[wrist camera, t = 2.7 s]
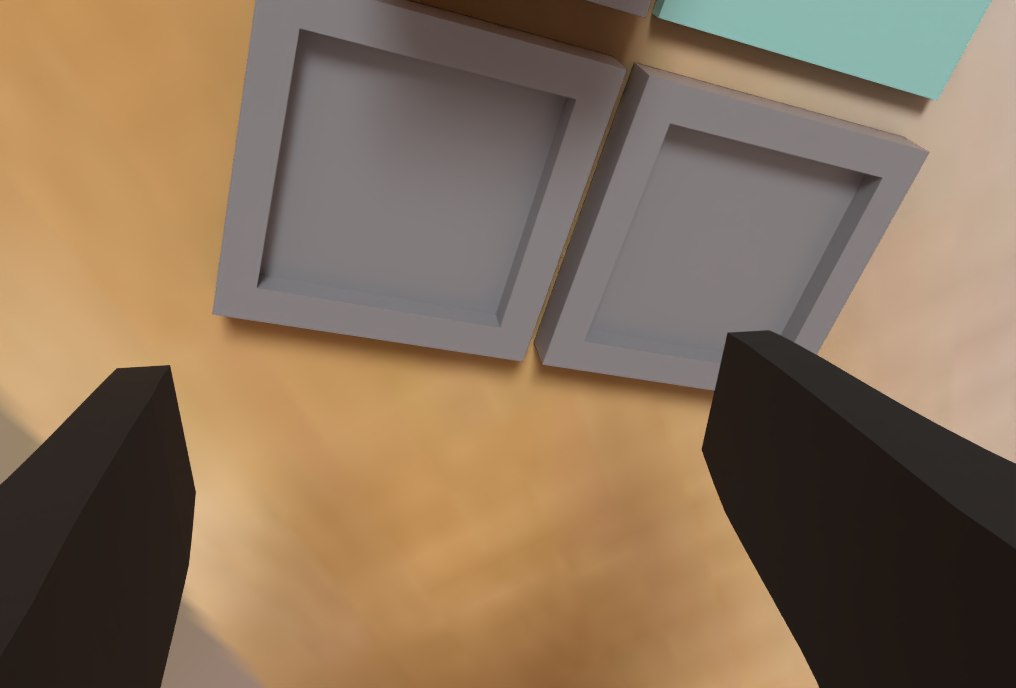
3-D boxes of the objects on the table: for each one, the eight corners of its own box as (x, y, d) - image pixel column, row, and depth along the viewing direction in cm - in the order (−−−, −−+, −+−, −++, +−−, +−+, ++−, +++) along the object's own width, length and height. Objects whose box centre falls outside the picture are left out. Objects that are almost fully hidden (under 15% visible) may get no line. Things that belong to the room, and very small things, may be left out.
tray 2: (904, 136, 20) (929, 152, 19) (773, 380, 23) (790, 402, 22) (634, 62, 18) (649, 75, 17) (533, 341, 21) (542, 364, 20)
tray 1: (612, 56, 18) (626, 69, 17) (514, 339, 21) (522, 361, 20) (263, -41, 15) (259, -31, 15) (217, 291, 19) (212, 314, 18)
